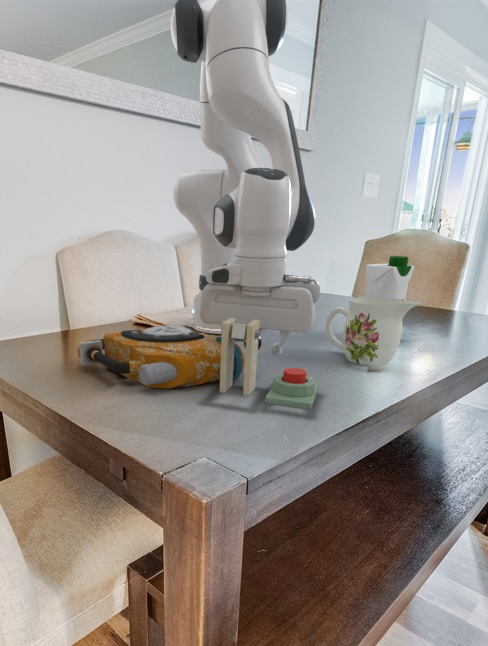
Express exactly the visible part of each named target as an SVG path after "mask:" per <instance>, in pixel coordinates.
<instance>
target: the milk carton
mask: <svg viewBox="0 0 488 646" xmlns="http://www.w3.org/2000/svg"><path fill="white" fill-rule="evenodd" d="M388 259H389V260H388V263H373V264H372V263H371V264H365V268H366V269H365V270H366V287H365V292H364V293H365V296H364V297H379V298H391V299H401V300H406V297H407V293H408V286H409V283H410V280H411V278H412V275H413V273H414V270H415V265H410V264H409V265H408V263H409V256H406V255H405V256H404V255H403V256H402V255H391V256H389V258H388Z"/></svg>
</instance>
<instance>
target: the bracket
mask: <svg viewBox="0 0 488 646" xmlns="http://www.w3.org/2000/svg"><path fill="white" fill-rule="evenodd" d="M235 320H236V319H235V318H229V319H228V320H226V321H225V322H223V323H222V331H221V334H220V335H221V337H222V339H221V366H220V381H219V393H223V394H226V393H227V392H228V390H230V389H231V387H232V386H233V382H234V380H233V362H234V341H235V340H233V339H232V338H231V334H232V327H233V323H235ZM259 323H260V320H253V321H252V322H251V323H249V324H248V325H247V335H246V348H245V353H244V354H245V355H244V359H245V360H244V369H243V371H244V373H243V389H242V396H243V397H250V395H252V393H253V392H254V391H255V389H256V379H257V367H258V352H259V350H258V339H259V337H260V336H261V330H260V328H259ZM260 338H261V337H260Z"/></svg>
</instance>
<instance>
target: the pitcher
mask: <svg viewBox="0 0 488 646" xmlns="http://www.w3.org/2000/svg"><path fill="white" fill-rule="evenodd" d="M421 304H422V302H420V301H417V300H416V301H414V300H407V299H405V300H401V299H391V298H379V297H365V296H357V297H351V298H349V299H348V307H349V308H345V307H343V306H336V307H333V308H332V309H331V310H330V311H329V313H328V314H327V316H326V320H325V335H326V337H327V339H328V340H329V342H330V343H331V345H333V346H335V347H336V348H338V349H340V350H341V351H343V353H344V355H345V358H346V360H347V361H349V362H351V363H354V364H357V365H362V366H367V368H366V371H380V370H383V369H385V367H387V365H388V364H389V363H390V362H391V361H392V360H393V358H394V357H395V355H396V353H397V351H398V349H399V347H400V343H401V340H402V336H403V329H404V328H403V319H404V317H405V316H406V314H407V313H408V312H409V311H410V310H411V309H413V308H415V307H418V306H419V305H421ZM337 314H342V315H343V316H344V317H345V318H346V319H345V321H344V324H343V329H342V341H341V340H339V339H338V338H337V337H336V336H335V334H334V332H333V327H332V326H333V320H334V317H335V316H336V315H337Z"/></svg>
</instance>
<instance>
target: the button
mask: <svg viewBox="0 0 488 646" xmlns="http://www.w3.org/2000/svg"><path fill="white" fill-rule="evenodd" d="M282 372H283V381H284V382H287V383H292V384H303V383H306V376H308V375H307V374H308V372H307V370H305V369H303V368H299V367H286V368H284V369H283V371H282Z"/></svg>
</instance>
